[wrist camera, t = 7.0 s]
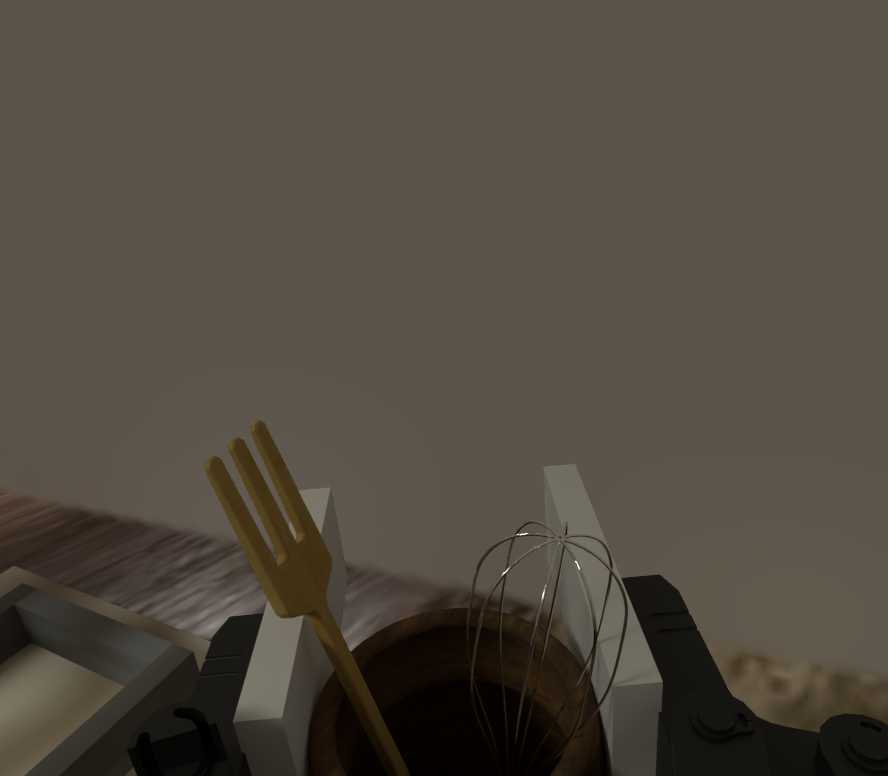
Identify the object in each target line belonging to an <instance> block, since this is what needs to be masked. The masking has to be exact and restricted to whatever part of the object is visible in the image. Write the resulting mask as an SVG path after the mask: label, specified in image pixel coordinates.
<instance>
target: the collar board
mask: <svg viewBox="0 0 888 776" xmlns="http://www.w3.org/2000/svg"><path fill="white" fill-rule="evenodd" d="M210 643H211V642H210V641H207V640H205V639H202V638H200V637H197V636H194V635H192V634H189V633H187V632H184V631H181V630H179V629H176V628H174V627H171V626H169V625H166V624H163V623H161V622H158V621H156V620H153V619H150V618H148V617H145V616H143V615H140V614H138V613H135V612H132V611H130V610H127V609H125V608H122V607H119V606H117V605H114V604H112V603H109V602H107V601H104V600H101V599H99V598H96V597H94V596H91V595H88V594H86V593H83V592H81V591H78V590H76V589H73V588H70V587H68V586H65V585H63V584H60V583H57V582H55V581H52V580H50V579H47V578H44V577H42V576H39V575H37V574H34V573H32V572H29V571H26V570H24V569H21V568H19V567H16V566H13V567H11V568H9V569H8V570H6V571H5V572H3V573H1V574H0V776H137V774H136V772H135V769H134V767H133V764H132V762H131V759H130V757H129V754H128V752H127V747H128V745H129V742H130V739H131V736H132V734H133V733H134V732H135V731H136V729H137V728H138V727H139V726H140V724H141V723H142V722H143V721H144V720H145V719H147V718H148V717H149V716H151V715H152V714H153V713H155V712H156V711H157V710H159V709H162V708H164V707H166V706H169V705H171V704H173V703H178V702H185V701H190V698H191V695H192V693H193V690H194V687H195V684H196V682H197V679H199V673H200V671H201V668H202V665H203V662H205V657H206V654H207V652H208V649H209V646H210Z"/></svg>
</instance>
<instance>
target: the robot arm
mask: <svg viewBox="0 0 888 776" xmlns="http://www.w3.org/2000/svg"><path fill="white" fill-rule="evenodd" d="M543 471H544V498H545V524H547V525H548V526H549V527H551V528H552V529H553V530H554V531H555V532H556V533H557V534H558V535H560V532H561V529H562V527H563V524H564V523H565V521H568V522H569V529H568V535H570V534H588V535H592V536H594V537H597V538H598V539H600V540H601V541H602V542H603V543H604V544H605V545H606V546H607V548H608V550H609V552H610V549H609V547H608V544H607V542H606V539H605V537H604V534H603V532H602V530H601V527H600V524H599V522H598V519H597V517H596V515H595V512H594V509H593V507H592V505H591V502H590V500H589V497H588V495H587V492H586V490H585V487H584V485H583V482H582V480H581V477H580V475H579V472H578V470H577V467H576V465H575V464H567V465H557V466H547V467H543ZM299 493H300V495H301V497H302V499H303V501H304V503H305V505H306V506H307V508H308V510H309V512H310V514H311V516H312V518H313V520H314V522H315V524H316V526H317V528H318V530H319V532H320V534H321V536H322V538H323V540H324V542H325V545H326V547H327V549H328V551H329V553H330V555H331V558H332V570H331V575H330V580H329V585H328V590H327V595H326V596H327V604H328V607H329V609H330V611H331V613H332V615H333V617H334V619H335V621H336V623H337V625H338V627H339V629H341V622H342V614H343V607H344V600H345V593H346V586H347V579H348V578H347V573H346V567H345V562H344V556H343V551H342V545H341V540H340V534H339V529H338V524H337V518H336V513H335V507H334V502H333V496H332V491H331V487H327V488H317V489H306V490H299ZM289 529H290V531H291V533H292V534H293V536H294V538H295V540H296V532H295V530H294V528H293V525H292V523H291V521H290V524H289ZM565 530H566V528H565ZM565 530H564V533H563V536H565ZM546 534H550V535H554V534H553V533H552V532H551V531H550V530H548V529H547V528H546ZM551 539H553V538H549V537H546V541H548V540H551ZM567 539H568V540H571V541H574V542H576V543H579V544H581V545H583V546H585V547H587V548H588V549H590V550H592V551H593V552H595V553H596V554H597V555H599V556H600V557H601V558H602V559H603V560H604V561H605V562H606V563H607V564H608V565H609V566H610V563H609V558H608V555H607V553H606V550H605V549H604V547H603V546H602V545H601V544H600V543H599V542H597V541H596V540H593V539H591V538H587V537H572V538H567ZM556 543H557V541H556V542H552V543H549V544H547V545H546V551H547V562H548V566H549V567H550V563H551V560H552V556H553V553H554V550H555V546H556ZM566 544H567V545H568V546H569V548H570V549H571V551H572V552H573V554H574V555H575V557H576V559H577V561H578V562H579V564H580V566H581V568H582V570H583V573H584V575H585V578H586V580H587V583H588V586H589V589H590V592H591V596H592V600H593V605H594V610H595V617H596V626H597V632H598V628H599V624H600V620H601V616H602V611H603V607H604V602H605V597H606V591H607V586H608V581H609V573H610V571H609V570H608V569H607V567H606V566H605V565H604V564H603V563H602V562H601V561H600V560H598V559H597V558H596V557H595V556H593V555H592V554H590V553H589V552H587V551H585V550H584V549H582V548H580V547H577V546H575V545H573V544H570V543H566ZM562 549H563V544H562V543H561V542H560V545H559V548H558V551H557V555H556V558H555V561H554V565H553V569H552V572H551V577H552V581H553V585H554V589H555V586H556V581H557V576H558V570H559V565H560V560H561V555H562ZM610 554H611V552H610ZM611 558H612V563H613V571H614V572H615V574H616V575H617V577H618V579H619V580H620V582H621V584H622V587H623V589H624V592H625V595H626V598H627V604H628V619H627V627H626V632H625V637H624V642H623V647H622V651H621V656H620V660H619V664H618V668H617V671H616V675H615V678H614V681H613V683H612V686H611V688H610V691H609V693H608V695H607V697H606V699H605V700H604V702H603V704H602V705H601V707H600V708H599V709H598V711H599V716H600V721H601V727H602V734H603V740H604V748H605V756H606V771H605V776H888V725H886V724H885V723H883V722H881V721H878V720H876V719H873V718H870V717H867V716H864V715H856V714H841V715H838V716H834V717H830V718H829V719H828V720H827V721H826V722H825V723H824V724H823V725H822V726H821V727H820V733H817V732H812V731H807V730H801V729H796V728H790V727H785V726H781V725H777V724H774V723H770V722H768V721H765V720H763V719H761V718H759V717H757V716H756V715H755V714H754V713H753V712H752V711H751V710H750V709H749V708H748V707H747V706H746V705H745V704H744V703H743V702H742V701H740V700H738V699H736V698H735V697H733V696H732V694H731V693H730V691H729V690H728V688H727V686H726V684H725V682H724V680H723V678H722V676H721V674H720V672H719V670H718V668H717V666H716V664H715V662H714V660H713V658H712V656H711V654H710V652H709V650H708V648H707V646H706V644H705V642H704V640H703V638H702V636H701V634H700V632H699V631H697V626H696V624H695V622H694V621H693V618H692V616H691V615H690V614H689V612H688V609H687V607H686V605H685V603H684V601H683V599H682V597H681V595H680V593H679V591H678V590H677V589H676V588H675V587H674V586H672V585H671V584H670V583H669V582H667V580H665V579H664V578H663V577H662V576H661V575H651V576H639V577H628V578H621V577H620V574H619V572H618V569H617V567H616V564H615V562H614V559H613V557H612V554H611ZM556 596H557V600H558V604H559V608H560V611H561V615H562V619H563V623H564V626H565V630H566V634H567V638H568V642H569V645H570V649H571V653H572V654H573V655H574V657H575V658H576V659H577V661H578V662H579V663H580V665H581V666H582V668H584V666H585V664H586V661H587V659H588V657H589V655H590V652H591V650H592V647H593V641H594V633H593V620H592V613H591V607H590V602H589V598H588V594H587V591H586V588H585V584H584V582H583V579H582V576H581V574H580V572H579V570H578V568H577V565H576V564H575V562H574V560H573V558H572V557H571V555H570V554H569V552H568V551H567V549H565V554H564V559H563V564H562V570H561V575H560V580H559V585H558V590H557V595H556ZM624 616H625V606H624V600H623V596H622V593H621V590H620V588H619V586H618V583H617V582H616V580H615V578H614V576H613V575H612V581H611V587H610V592H609V597H608V602H607V607H606V611H605V616H604V620H603V624H602V628H601V632H600V635H599V638H598V641H597V647H596V655H595V661H594V666H593V671H592V676H591V681H590V684H591V686H592V689H593V692H594V695H595V698H596V702H597V705H598V704H599V702H600V701H601V699H602V698H603V696H604V694H605V692H606V690H607V688H608V685H609V682H610V680H611V677H612V674H613V670H614V667H615V663H616V659H617V655H618V650H619V645H620V640H621V635H622V630H623V625H624ZM591 658H592V657H591ZM590 664H591V659H590V662H589V664H588V666H587V668H586V670H585V673H586V675H587V677H588V674H589V669H590ZM333 672H334V668H333V666H332V664H331V662H330V660H329V658H328V656H327V654H326V652H325V650H324V648H323V646H322V644H321V642H320V640H319V638H318V636H317V634H316V632H315V630H314V628H313V626H312V624H311V622H310V620H309V618H308V616H306V615H302V616H298V617H295V618H281V617H279V616H278V615H276V614H275V612H274V610H273V608H272V606H271V604H270V602H269V601H267V604H266V608H265V611H264V614H253V615H243V616H232V617H229V618H228V620H227V621H226V622H225V623H224V624H223V625H222V627H221V628H220V629H219V630H218V631H217V632H216V633H215V635H214V636H213V638H212V641H211V643H210V646H209V649H208V652H207V654H206V657H205V662H203V665H202V668H201V671H200V673H199V679H197V682H196V684H195V687H194V690H193V693H192V695H191V698H190V701H185V702H178V703H173V704H171V705H169V706H166V707H164V708H162V709H159V710H157V711H156V712H155V713H153V714H152V715H151V716H149V717H148V718H147V719H145V720H144V721H143V722H142V723H141V724H140V726H139V727H138V728H137V729H136V731H135V732H134V733H133V734H132V736H131V739H130V742H129V745H128V747H127V752H128V754H129V757H130V759H131V762H132V764H133V767H134V769H135V772H136V774H137V776H310V763H309V742H310V728H311V722H312V717H313V713H314V710H315V706H316V703H317V701H318V698H319V696H320V694H321V692H322V690H323V687H324V686H325V684H326V682H327V681H328V679H329V677H330V676H331V674H332V673H333Z"/></svg>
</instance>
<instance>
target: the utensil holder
mask: <svg viewBox="0 0 888 776" xmlns="http://www.w3.org/2000/svg"><path fill="white" fill-rule="evenodd" d="M250 432H251V435H252V437H253V439H254V442H255V444H256V446H257V448H258V450H259V452H260V455H261V457H262V459H263V461H264V464H265V466H266V468H267V470H268V472H269V475H270V477H271V479H272V481H273V483H274V485H275V488H276V490H277V492H278V494H279V496H280V499H281V501H282V503H283V506H284V508H285V510H286V512H287V514H288V517H289V519H290V521H291V523H292V525H293V528H294V530H295V532H296V540H295V538H294V536H293V534H292V533H291V531H290V529H289V527H288V525H287V523H286V521H285V519H284V517H283V515H282V513H281V511H280V509H279V507H278V505H277V504H276V502H275V500H274V498H273V496H272V494H271V492H270V490H269V488H268V486H267V484H266V482H265V480H264V478H263V477H262V475H261V473H260V471H259V469H258V467H257V465H256V463H255V461H254V459H253V457H252V455H251V453H250V451H249V449H248V448H247V446H246V444H245V442H244V440H242V439H240V438H237V437H236V438H233V439H232V440H231V441H230V442H229V447H228V450H229V452H230V454H231V456H232V459H233V461H234V463H235V465H236V467H237V469H238V471H239V473H240V475H241V477H242V480H243V482H244V484H245V486H246V488H247V491H248V493H249V494H250V497H251V499H252V501H253V503H254V505H255V508H256V510H257V512H258V514H259V516H260V518H261V520H262V522H263V525H264V527H265V529H266V531H267V533H268V535H269V537H270V539H271V542H272V544H273V546H274V548H275V550H276V552H277V563H276V561H275V559H274V557H273V556H272V554H271V552H270V550H269V548H268V546H267V544H266V542H265V541H264V539H263V537H262V535H261V533H260V532H259V529H258V527H257V526H256V524H255V522H254V520H253V518H252V516H251V515H250V513H249V511H248V509H247V507H246V505H245V503H244V501H243V499H242V498H241V496H240V494H239V492H238V490H237V488H236V486H235V484H234V482H233V481H232V479H231V477H230V475H229V474H228V472H227V469H226V467H225V466H224V464H223V462H222V460H221V459H220V458H218V457H216V456H212V457H210V458H209V459H207V460H206V461H205V471H206V473H207V475H208V477H209V479H210V481H211V484H212V486H213V488H214V490H215V492H216V494H217V496H218V498H219V500H220V502H221V504H222V506H223V508H224V510H225V512H226V514H227V516H228V519H229V520H230V523H231V525H232V527H233V529H234V531H235V533H236V535H237V537H238V539H239V541H240V543H241V545H242V547H243V549H244V551H245V554H246V556H247V558H248V560H249V562H250V564H251V566H252V568H253V570H254V572H255V574H256V576H257V578H258V580H259V582H260V584H261V586H262V588H263V591H264V593H265V595H266V597H267V599H268V601H269V602H270V604H271V606H272V608H273V610H274V612H275V614H276V615H278V616H279V617H281V618H295V617H298V616H302V615H306V616H308V618H309V620H310V622H311V624H312V626H313V628H314V630H315V632H316V634H317V636H318V638H319V640H320V642H321V644H322V646H323V648H324V650H325V652H326V654H327V656H328V658H329V660H330V662H331V664H332V666H333V668H334V672H333V673H332V674H331V676H330V677H329V679H328V681H327V682H326V684H325V686H324V687H323V690H322V692H321V694H320V696H319V698H318V701H317V703H316V706H315V710H314V713H313V717H312V722H311V728H310V742H309V763H310V776H605V771H606V756H605V748H604V740H603V734H602V727H601V721H600V716H599V711H598V709H599V708H600V707H601V705H602V704H603V702H604V700H605V699H606V697H607V695H608V693H609V691H610V688H611V686H612V683H613V681H614V678H615V675H616V671H617V668H618V664H619V660H620V656H621V651H622V647H623V642H624V637H625V632H626V627H627V619H628V604H627V598H626V595H625V592H624V589H623V587H622V584H621V582H620V580H619V579H618V577H617V575H616V574H615V572H614V571H613V563H612V558H611V554H610V552H609V550H608V548H607V546H606V545H605V544H604V543H603V542H602V541H601V540H600V539H598V538H597V537H594V536H592V535H588V534H570V535H568V529H569V522H568V521H565V523H564V524H563V527H562V529H561V532H560V535H558V534H557V533H556V532H555V531H554V530H553V529H552V528H551V527H549V526H548V525H547V524H545V523H543V522H541V521H537V520H530V521H527V522H524V523H523V524H522V525H521V526H520V527H519V528H518V529H517V530H516V532H515V534H514V535H511V536H508V537H506V538H503V539H502V540H500V541H498V542H497V543H495V544H494V545H493V546H491V548H489V549H488V550H487V551H486V553H485V554H484V555H483V557H482V558H481V560H480V561H479V563H478V566H477V568H476V572H475V576H474V579H473V585H472V591H471V596H470V602H469V608H452V609H442V610H436V611H430V612H426V613H422V614H418V615H415V616H411V617H409V618H406V619H403V620H401V621H398V622H396V623H393V624H391V625H389V626H387V627H385V628H384V629H382V630H380V631H378V632H376V633H375V634H373V635H372V636H370V637H369V638H367V639H366V640H365V641H363V642H362V643H361V644H359V645H358V646H357V647H356V648H355V649H354V650H352V651H351V652H350V650H349V648H348V646H347V644H346V642H345V640H344V638H343V636H342V634H341V632H340V629H339V627H338V625H337V623H336V621H335V619H334V617H333V615H332V613H331V611H330V609H329V607H328V604H327V596H326V595H327V590H328V585H329V580H330V575H331V570H332V558H331V555H330V553H329V551H328V549H327V547H326V545H325V542H324V540H323V538H322V536H321V534H320V532H319V530H318V528H317V526H316V524H315V522H314V520H313V518H312V516H311V514H310V512H309V510H308V508H307V506H306V505H305V503H304V501H303V499H302V497H301V495H300V493H299V491H298V489H297V487H296V485H295V483H294V481H293V479H292V477H291V475H290V473H289V471H288V469H287V467H286V465H285V463H284V461H283V459H282V457H281V455H280V453H279V451H278V449H277V447H276V445H275V443H274V441H273V439H272V437H271V435H270V433H269V431H268V429H267V427H266V425H265V423H263V422H262V421H259V420H257V421H254V422H253V423H252V424H251V427H250ZM530 523H537V524H540V525H542V526H544V527H546V528H547V529H548V530H550V531H551V532H552V533H553V534H554V535H550V534H545V533H536V532H535V533H532V532H531V533H530V532H529V533H519V531H520V530H521V529H522V528H523V527H524V526H525V525H527V524H530ZM565 528H566V530H565ZM564 530H565V536H563V533H564ZM518 533H519V534H518ZM521 536H543V537H549V538H553V539H551V540H548V541H546V542H543V543H541V544H539V545H537V546H535V547H533V548H532V549H530V550H528V551H527V552H526V553H524V554H523V555H521V556H520V557H519V558H518V559H516V560H515V561H514V562H513V563H512V564H511V565H510V566H509V562H510V557H511V552H512V548H513V543H514V541H515V538H516V537H521ZM572 537H587V538H591V539H593V540H596V541H597V542H599V543H600V544H601V545H602V546H603V547H604V549H605V550H606V553H607V555H608V558H609V563H610V566H609V565H608V564H607V563H606V562H605V561H604V560H603V559H602V558H601V557H600V556H599V555H597V554H596V553H595V552H593V551H592V550H590V549H588V548H587V547H585V546H583V545H581V544H579V543H576V542H574V541H571V540H568V539H567V538H572ZM509 539H512V541H511V544H510V548H509V553H508V558H507V563H506V569H505V571H504V573H503V574H502V575H501V576H500V577H499V579H498V580H497V581H496V583H495V584H494V586H493V587H492V589H491V591H490V593H489V594H488V596H487V598H486V600H485V602H484V605H483V608H482V609H478V608H472V602H473V596H474V591H475V585H476V580H477V576H478V572H479V568H480V566H481V564H482V562H483V560H484V559H485V557H486V556H487V555H488V554H489V553H490V552H491V551H492V550H493V549H494V548H495V547H496V546H498V545H499V544H501V543H503V542H504V541H507V540H509ZM556 541H557V543H556V546H555V550H554V553H553V556H552V560H551V563H550V567H549V570H548V574H547V578H546V581H545V585H544V589H543V593H542V597H541V601H540V605H539V609H538V614H537V618H536V622H535V624H533V623H531V622H529V621H526V620H524V619H522V618H519V617H516V616H513V615H510V614H507V613H503V612H502V608H503V599H504V591H505V585H506V579H507V573H508V572H509V571H510V569H512V568H513V567H514V566H515V565H516V564H517V563H518V562H519V561H520V560H522V559H523V558H524V557H526V556H527V555H528V554H530V553H531V552H533V551H535V550H537V549H538V548H540V547H543V546H545V545H547V544H549V543H552V542H556ZM560 542H561V543H562V544H563V549H562V555H561V560H560V565H559V570H558V576H557V581H556V586H555V591H554V597H553V602H552V607H551V612H550V617H549V621H548V626H547V631H545V630H544V629H542V628H540V627H539V626H538V625H539V620H540V616H541V612H542V607H543V603H544V599H545V595H546V591H547V587H548V583H549V579H550V576H551V572H552V569H553V565H554V561H555V558H556V555H557V551H558V548H559V545H560ZM566 543H570V544H573V545H575V546H577V547H580V548H582V549H584V550H585V551H587V552H589V553H590V554H592V555H593V556H595V557H596V558H597V559H598V560H600V561H601V562H602V563H603V564H604V565H605V566H606V567H607V569H608V570H609V571H610V573H609V581H608V586H607V591H606V597H605V602H604V607H603V611H602V616H601V620H600V624H599V628H598V632H597V626H596V617H595V610H594V605H593V600H592V596H591V592H590V589H589V586H588V583H587V580H586V578H585V575H584V573H583V570H582V568H581V566H580V564H579V562H578V561H577V559H576V557H575V555H574V554H573V552H572V551H571V549H570V548H569V546H568V545H567V544H566ZM565 549H567V551H568V552H569V554H570V555H571V557H572V558H573V560H574V562H575V564H576V565H577V568H578V570H579V572H580V574H581V576H582V579H583V582H584V584H585V588H586V591H587V594H588V598H589V602H590V607H591V613H592V620H593V633H594V641H593V647H592V650H591V652H590V655H589V657H588V659H587V661H586V664H585V666H584V668H582V666H581V665H580V663H579V662H578V661H577V659H576V658H575V657H574V655H573V654H572V653H571V652H570V651H569V650H568V649H567V648H566V647H565V646H564V645H563V644H562V643H561V642H560V641H559V640H558V639H556V638H555V637H554V636H552V635H551V634H550V633H549V630H550V625H551V620H552V615H553V610H554V605H555V600H556V595H557V590H558V585H559V580H560V575H561V570H562V564H563V559H564V554H565ZM612 575H613V576H614V578H615V580H616V582H617V583H618V586H619V588H620V590H621V593H622V596H623V600H624V606H625V616H624V625H623V630H622V635H621V640H620V645H619V650H618V655H617V659H616V663H615V667H614V670H613V674H612V677H611V680H610V682H609V685H608V688H607V690H606V692H605V694H604V696H603V698H602V699H601V701H600V702H599V704H598V705H597V702H596V698H595V695H594V692H593V689H592V686H591V684H590V681H591V676H592V671H593V666H594V661H595V655H596V647H597V641H598V638H599V635H600V632H601V628H602V624H603V620H604V616H605V611H606V607H607V602H608V597H609V592H610V587H611V581H612ZM503 578H504V580H503V586H502V593H501V601H500V611H499V612H498V611H493V610H487V609H486V606H487V604H488V602H489V599H490V597H491V596H492V594H493V592H494V590H495V589H496V587H497V586H498V584H499V583H500V581H501V580H502V579H503ZM591 657H592V658H591ZM590 659H591V664H590V669H589V674H588V677H587V675H586V673H585V670H586V668H587V666H588V664H589V662H590Z"/></svg>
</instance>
